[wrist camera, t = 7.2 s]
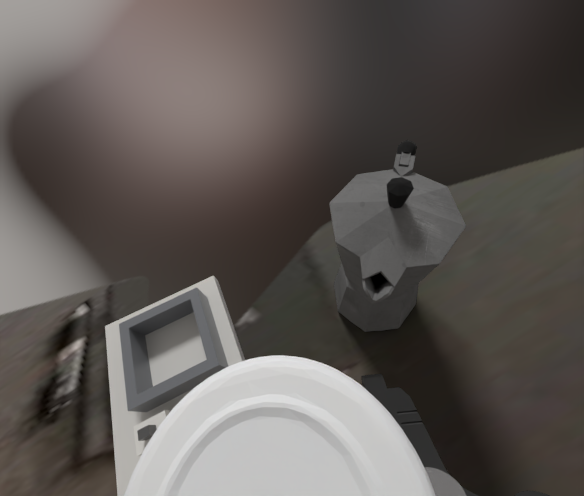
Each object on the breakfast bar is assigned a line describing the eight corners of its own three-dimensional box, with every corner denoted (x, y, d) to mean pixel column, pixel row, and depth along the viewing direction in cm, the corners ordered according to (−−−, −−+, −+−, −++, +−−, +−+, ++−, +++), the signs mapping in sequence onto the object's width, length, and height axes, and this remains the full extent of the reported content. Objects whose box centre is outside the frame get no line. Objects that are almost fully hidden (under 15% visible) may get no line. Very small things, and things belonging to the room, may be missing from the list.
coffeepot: (407, 365, 29) (482, 298, 14) (317, 337, 31) (296, 255, 16) (425, 240, 36) (487, 105, 21) (350, 226, 38) (357, 97, 23)
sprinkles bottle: (371, 413, 15) (455, 381, 4) (364, 525, 13) (507, 1135, 2) (290, 394, 16) (178, 327, 5) (270, 494, 14) (-4, 765, 3)
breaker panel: (217, 280, 37) (201, 261, 33) (295, 506, 24) (285, 524, 20) (113, 329, 35) (82, 316, 31) (137, 598, 23) (90, 638, 18)
